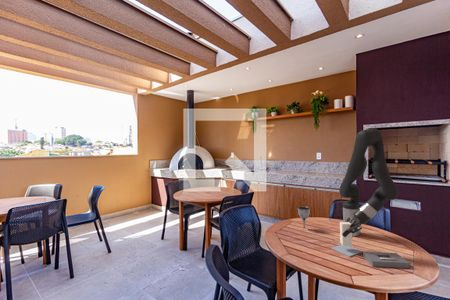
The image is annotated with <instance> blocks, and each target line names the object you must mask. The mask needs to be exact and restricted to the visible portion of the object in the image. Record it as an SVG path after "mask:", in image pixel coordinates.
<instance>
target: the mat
mask: <svg viewBox="0 0 450 300" xmlns="http://www.w3.org/2000/svg"><path fill="white" fill-rule="evenodd" d="M330 249H331V250H333V251H335V252H337V253H340V254H342V255H344V256H345V257H347V258H351V257H354V256H356V255H359V254H361V253H362V254H363V252H364V251H363V250H360V249H359V248H355V247H353V246H343V245H342V244H339V245H336V246H333V247H330Z"/></svg>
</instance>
